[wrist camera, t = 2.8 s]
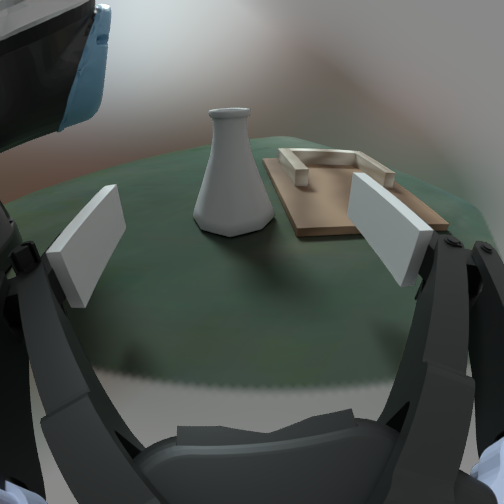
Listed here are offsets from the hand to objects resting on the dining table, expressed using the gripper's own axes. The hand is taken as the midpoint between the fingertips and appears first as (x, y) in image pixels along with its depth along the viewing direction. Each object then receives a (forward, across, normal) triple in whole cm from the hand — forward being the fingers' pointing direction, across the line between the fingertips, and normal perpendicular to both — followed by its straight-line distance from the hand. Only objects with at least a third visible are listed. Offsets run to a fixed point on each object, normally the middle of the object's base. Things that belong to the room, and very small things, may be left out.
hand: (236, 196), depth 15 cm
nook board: (+16, +13, -6) cm, 22 cm away
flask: (+9, 0, -6) cm, 11 cm away
